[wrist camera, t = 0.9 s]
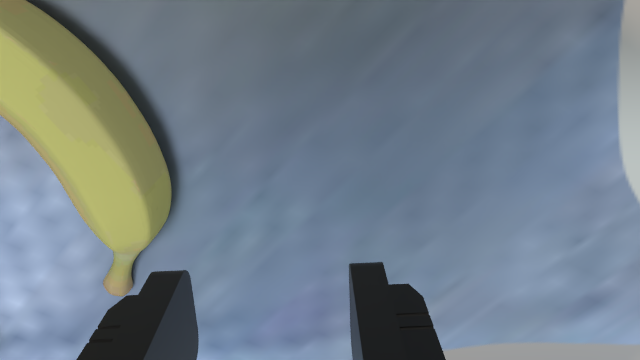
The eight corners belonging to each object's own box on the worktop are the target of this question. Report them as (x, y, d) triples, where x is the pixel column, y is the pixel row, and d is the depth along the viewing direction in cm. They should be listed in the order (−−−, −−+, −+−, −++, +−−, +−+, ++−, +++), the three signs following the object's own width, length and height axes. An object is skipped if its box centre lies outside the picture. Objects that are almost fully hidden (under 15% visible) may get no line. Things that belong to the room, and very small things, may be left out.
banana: (-6, -74, 20) (183, 320, 29) (81, -85, 24) (220, 257, 33) (-235, 2, 24) (-7, 327, 33) (-123, -20, 29) (50, 270, 37)
